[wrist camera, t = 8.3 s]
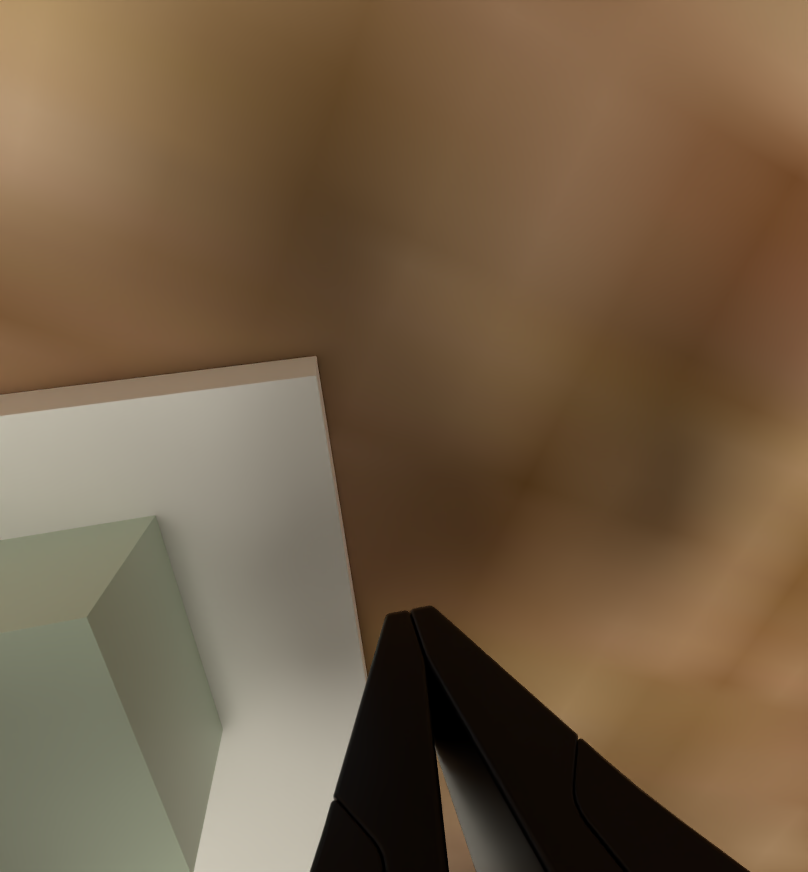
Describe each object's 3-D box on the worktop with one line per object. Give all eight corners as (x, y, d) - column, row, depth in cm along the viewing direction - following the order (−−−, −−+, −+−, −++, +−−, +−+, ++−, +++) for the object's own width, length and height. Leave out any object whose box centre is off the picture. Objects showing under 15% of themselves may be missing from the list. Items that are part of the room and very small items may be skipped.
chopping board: (395, 853, 15) (406, 936, 13) (19, 956, 13) (-29, 1066, 11) (316, 355, 9) (316, 374, 7) (-334, 435, 8) (-535, 485, 6)
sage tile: (222, 729, 9) (192, 876, 7) (-49, 790, 9) (-180, 976, 6) (155, 515, 8) (86, 617, 5) (-187, 570, 7) (-435, 714, 5)
